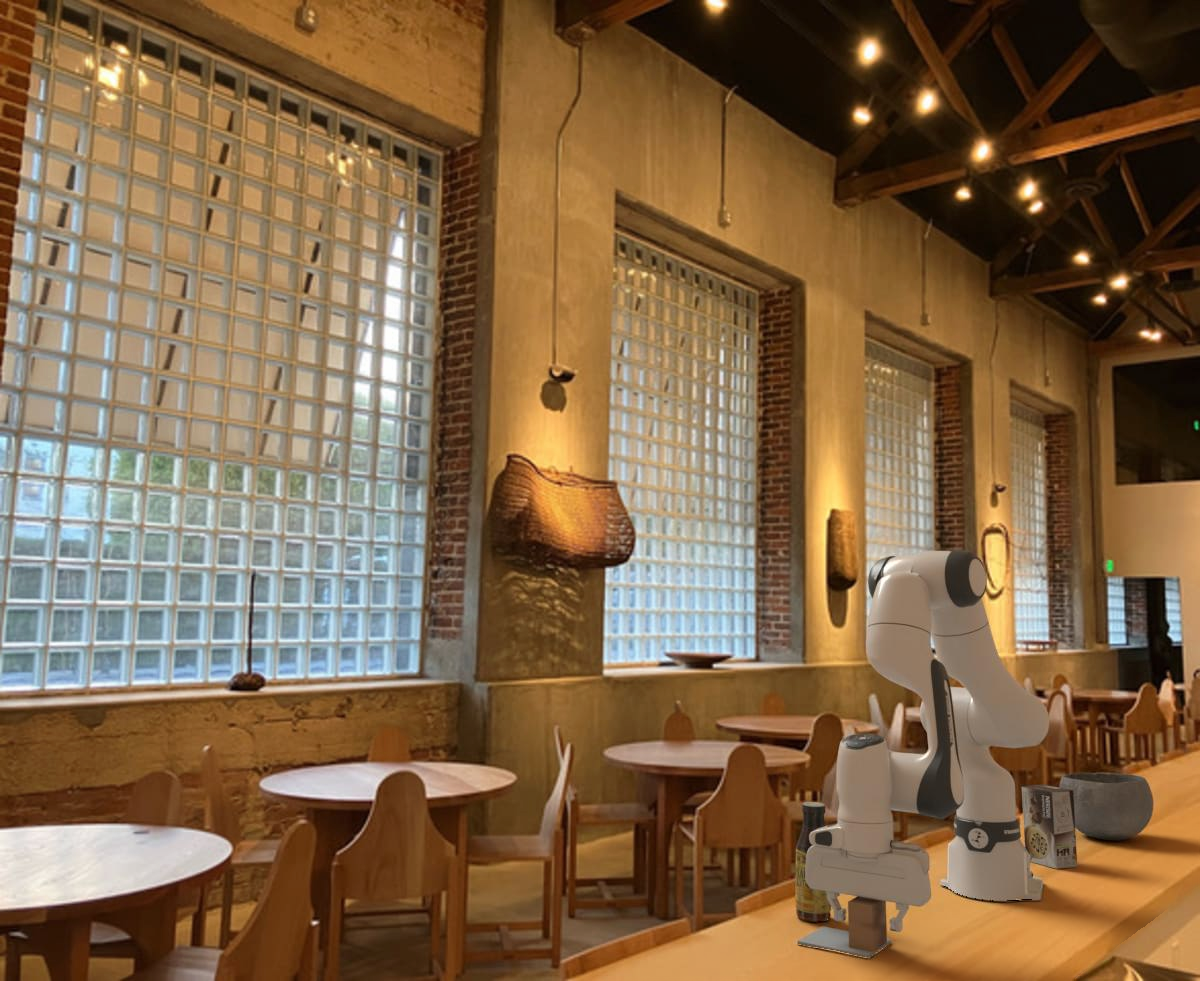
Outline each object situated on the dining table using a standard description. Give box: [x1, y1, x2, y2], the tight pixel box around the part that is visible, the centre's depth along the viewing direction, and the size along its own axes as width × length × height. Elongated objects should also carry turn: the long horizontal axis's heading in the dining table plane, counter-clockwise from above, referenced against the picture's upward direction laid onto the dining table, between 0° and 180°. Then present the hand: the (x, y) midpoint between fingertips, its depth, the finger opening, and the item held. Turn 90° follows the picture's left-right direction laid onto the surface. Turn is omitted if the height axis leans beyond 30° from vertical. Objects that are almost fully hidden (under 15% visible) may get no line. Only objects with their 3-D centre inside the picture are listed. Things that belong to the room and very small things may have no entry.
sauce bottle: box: [794, 801, 832, 923], centre depth 184 cm, size 7×6×20 cm
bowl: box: [1058, 771, 1154, 841], centre depth 252 cm, size 20×20×15 cm
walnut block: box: [847, 896, 888, 952], centre depth 167 cm, size 6×4×7 cm, turn 144°
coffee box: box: [1021, 784, 1078, 870], centre depth 226 cm, size 9×6×16 cm
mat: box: [797, 926, 892, 958], centre depth 169 cm, size 10×12×1 cm
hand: (867, 925), depth 167 cm, fingers open, 8 cm apart
